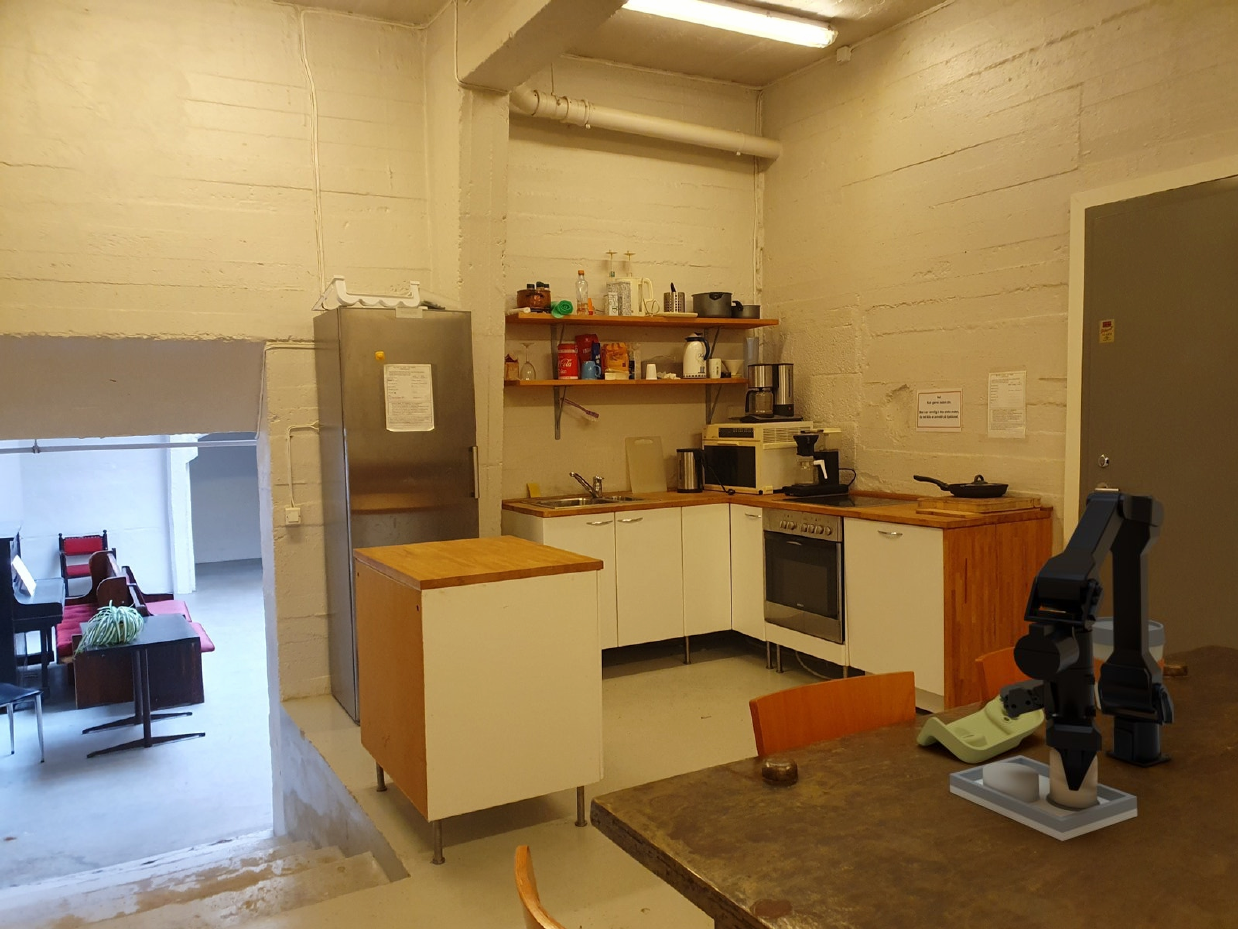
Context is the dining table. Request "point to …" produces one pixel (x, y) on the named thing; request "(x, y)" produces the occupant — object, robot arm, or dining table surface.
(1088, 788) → the tan paper roll
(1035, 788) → the carrier plate
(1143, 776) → the dining table surface
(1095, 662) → the reusable coffee cup
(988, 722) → the plastic component
